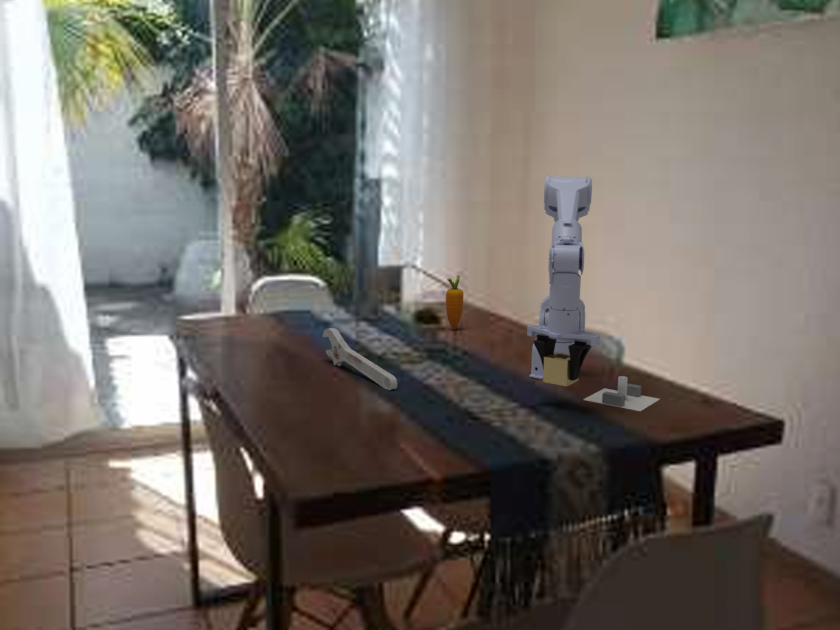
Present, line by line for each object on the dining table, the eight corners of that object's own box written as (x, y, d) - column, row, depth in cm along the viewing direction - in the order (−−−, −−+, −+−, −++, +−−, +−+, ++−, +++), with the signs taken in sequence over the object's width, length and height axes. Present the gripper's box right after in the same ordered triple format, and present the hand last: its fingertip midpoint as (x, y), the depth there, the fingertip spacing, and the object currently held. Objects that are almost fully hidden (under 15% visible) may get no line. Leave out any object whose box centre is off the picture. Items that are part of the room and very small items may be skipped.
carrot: (448, 332, 240) (448, 277, 237) (442, 328, 245) (443, 274, 242) (465, 331, 242) (466, 276, 238) (459, 327, 246) (461, 273, 243)
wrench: (389, 404, 187) (321, 357, 211) (396, 403, 188) (328, 356, 212) (391, 368, 185) (322, 325, 208) (399, 367, 186) (329, 324, 209)
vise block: (582, 405, 178) (584, 377, 177) (604, 393, 186) (605, 367, 185) (639, 417, 171) (641, 388, 170) (659, 404, 179) (661, 377, 178)
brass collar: (543, 381, 173) (544, 356, 172) (555, 376, 177) (556, 351, 176) (566, 386, 170) (567, 360, 169) (578, 380, 174) (579, 355, 173)
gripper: (520, 306, 171) (517, 374, 174) (589, 316, 163) (586, 387, 166) (538, 300, 177) (535, 367, 180) (606, 310, 169) (602, 379, 171)
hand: (561, 376), depth 173 cm, fingers closed on brass collar, 5 cm apart
